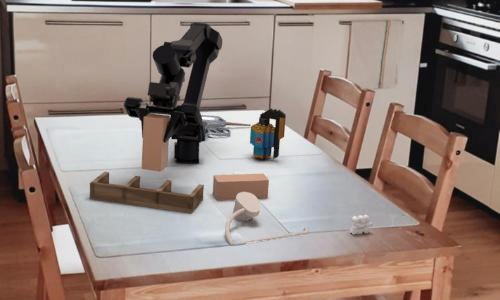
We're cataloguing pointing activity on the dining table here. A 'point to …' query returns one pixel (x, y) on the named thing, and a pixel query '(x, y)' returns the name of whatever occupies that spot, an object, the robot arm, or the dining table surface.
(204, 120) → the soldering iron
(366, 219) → the white beaded block
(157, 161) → the clay bar
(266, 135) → the toy
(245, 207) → the toilet paper hanger
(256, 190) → the clay bar
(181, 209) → the tray
